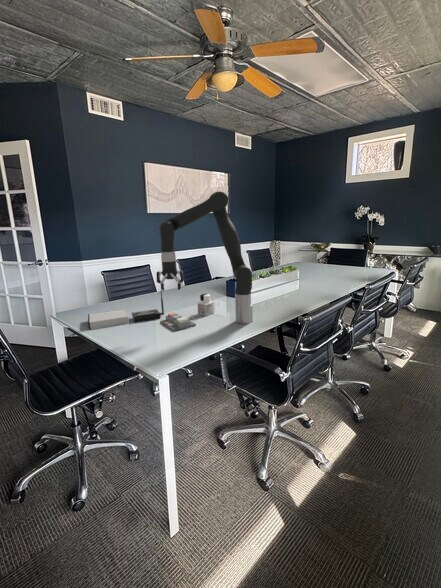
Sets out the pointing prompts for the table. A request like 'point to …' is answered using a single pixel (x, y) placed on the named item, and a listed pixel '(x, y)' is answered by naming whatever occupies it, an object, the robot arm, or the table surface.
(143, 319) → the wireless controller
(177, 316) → the key slate
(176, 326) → the keypad
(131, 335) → the table surface
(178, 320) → the key cream
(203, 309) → the container
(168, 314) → the key terracotta
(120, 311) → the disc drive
